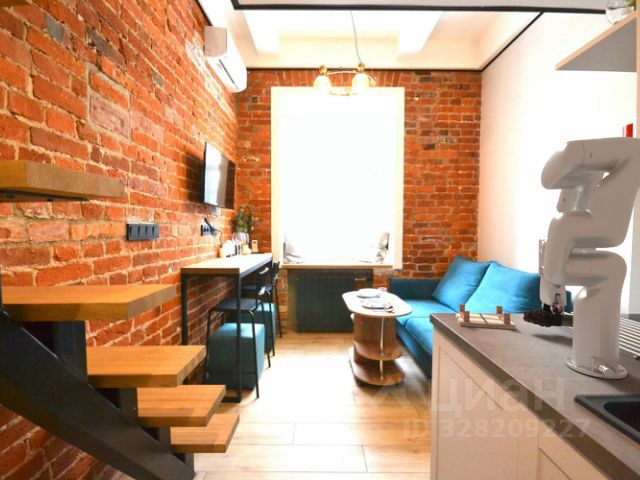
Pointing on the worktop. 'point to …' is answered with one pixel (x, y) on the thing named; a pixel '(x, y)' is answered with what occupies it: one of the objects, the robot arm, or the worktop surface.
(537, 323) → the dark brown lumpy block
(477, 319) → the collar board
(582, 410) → the worktop surface
